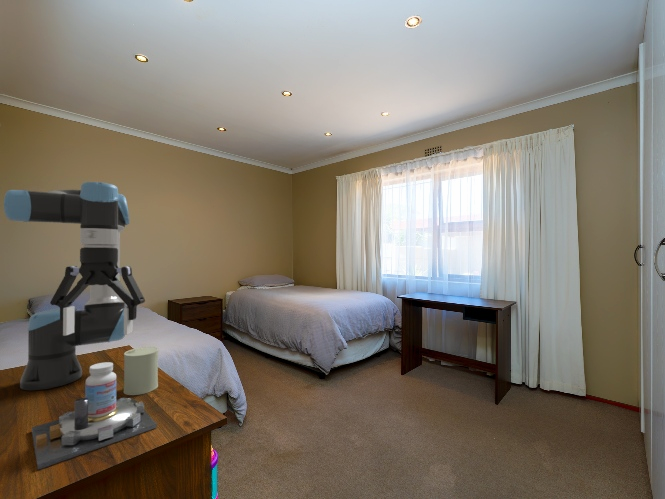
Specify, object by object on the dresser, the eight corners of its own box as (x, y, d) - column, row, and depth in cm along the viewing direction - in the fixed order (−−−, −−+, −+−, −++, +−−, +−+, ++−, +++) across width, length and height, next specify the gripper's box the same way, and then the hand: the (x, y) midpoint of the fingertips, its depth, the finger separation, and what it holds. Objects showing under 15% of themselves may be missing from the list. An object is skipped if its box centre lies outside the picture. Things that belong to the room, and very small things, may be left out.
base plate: (31, 431, 75) (31, 422, 75) (134, 401, 90) (134, 394, 90) (37, 470, 62) (37, 458, 62) (156, 427, 77) (156, 418, 77)
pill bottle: (100, 420, 74) (100, 370, 74) (78, 417, 75) (78, 368, 75) (122, 407, 79) (122, 362, 80) (101, 405, 81) (102, 360, 81)
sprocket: (26, 443, 68) (26, 406, 68) (93, 404, 86) (93, 374, 86) (108, 446, 67) (109, 408, 68) (158, 405, 85) (159, 376, 86)
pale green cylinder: (127, 385, 102) (127, 347, 102) (160, 381, 105) (160, 344, 105) (119, 397, 93) (120, 355, 93) (155, 392, 96) (156, 352, 97)
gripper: (31, 246, 74) (30, 338, 74) (146, 247, 76) (145, 337, 76) (55, 246, 81) (55, 330, 81) (159, 247, 84) (159, 329, 84)
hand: (98, 333), depth 79 cm, fingers open, 13 cm apart
